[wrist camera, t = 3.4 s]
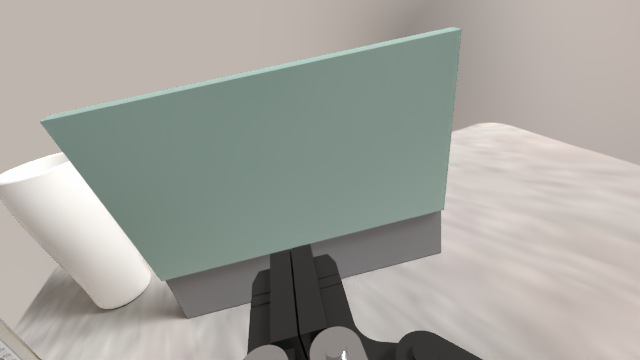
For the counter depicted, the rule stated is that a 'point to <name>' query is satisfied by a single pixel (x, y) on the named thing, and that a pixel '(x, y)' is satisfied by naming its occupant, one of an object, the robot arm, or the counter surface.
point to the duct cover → (272, 153)
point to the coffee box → (13, 345)
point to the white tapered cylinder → (75, 229)
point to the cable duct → (347, 251)
